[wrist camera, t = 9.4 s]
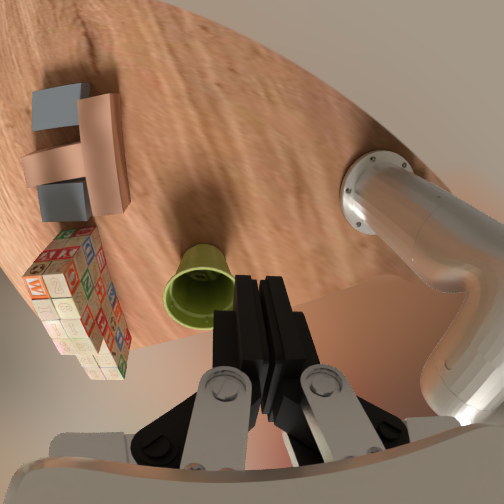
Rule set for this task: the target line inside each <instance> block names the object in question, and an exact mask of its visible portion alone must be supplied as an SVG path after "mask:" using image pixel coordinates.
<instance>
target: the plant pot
mask: <svg viewBox="0 0 504 504" xmlns="http://www.w3.org/2000/svg"><path fill="white" fill-rule="evenodd" d="M195 275H199V276H204V278H198V277H196V276H195ZM234 284H235V278H234V277H233V276H232V275H231V273H230V270H229V268H228V265H227V262H226V260H225V257H224V255H223V254H222V252H221V251H220V250H219V249H218V248H217V247H215V246H212V245H209V244H198V245H195V246H193V247H191V248H190V249H188V250H187V251H186V252H185V253H184V255H183V257H182V260H181V263H180V265H179V267H178V270H177V272H176V274H175V275H174V276H173V277H172V278H171V279H170V280H169V281H168V283H167V285H166V287H165V290H164V294H163V302H164V306H165V309H166V311H167V312H168V314H169V315H170V316H171V317H172V318H173V319H174V320H175V321H176V322H178V323H179V324H181V325H183V326H185V327H188V328H192V329H197V330H210V329H213V317H214V310H229V311H232V310H233V297H234Z"/></svg>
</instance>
